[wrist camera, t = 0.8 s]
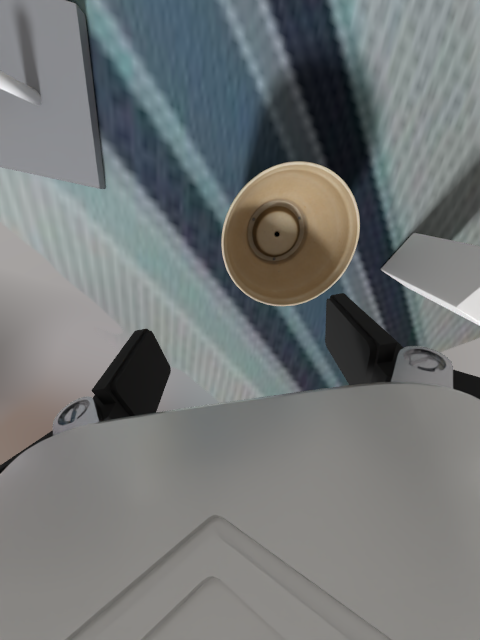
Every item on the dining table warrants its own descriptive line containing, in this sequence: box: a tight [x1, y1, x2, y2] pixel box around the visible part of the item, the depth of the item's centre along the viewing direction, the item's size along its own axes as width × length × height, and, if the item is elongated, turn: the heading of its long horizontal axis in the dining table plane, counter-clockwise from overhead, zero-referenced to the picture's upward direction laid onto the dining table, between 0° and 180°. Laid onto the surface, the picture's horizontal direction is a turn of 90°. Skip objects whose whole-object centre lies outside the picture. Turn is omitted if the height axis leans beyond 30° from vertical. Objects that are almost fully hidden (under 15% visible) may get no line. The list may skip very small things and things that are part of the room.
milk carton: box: [381, 233, 480, 326], centre depth 28 cm, size 7×7×19 cm
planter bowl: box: [222, 161, 360, 306], centre depth 29 cm, size 16×16×11 cm
